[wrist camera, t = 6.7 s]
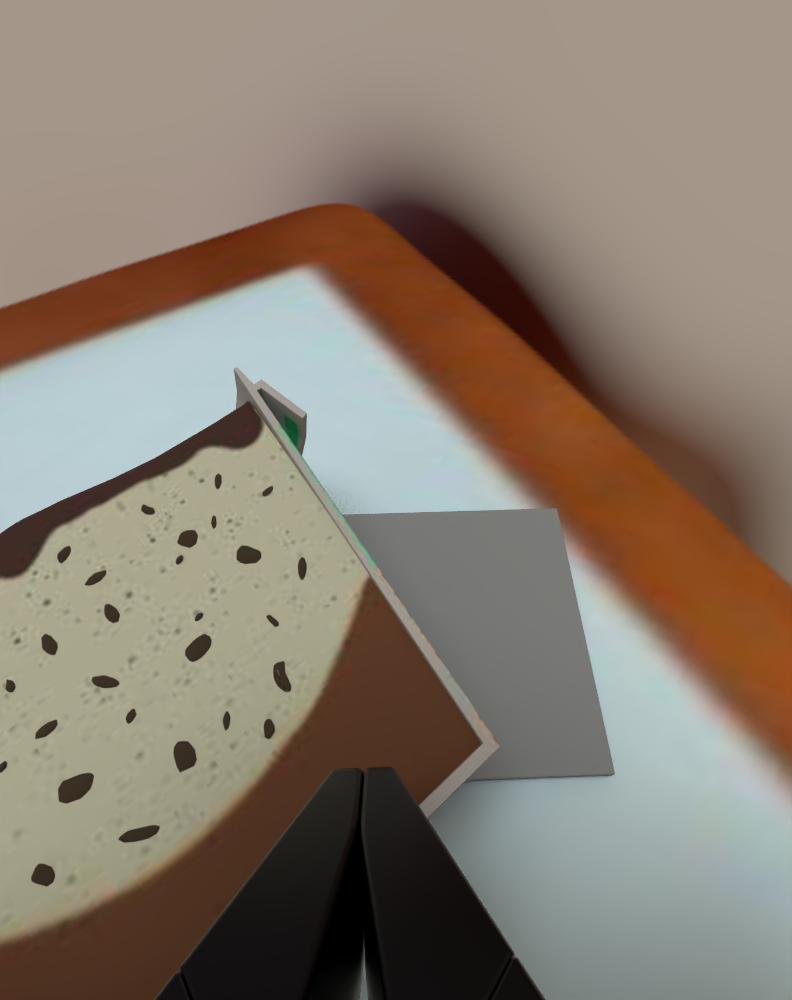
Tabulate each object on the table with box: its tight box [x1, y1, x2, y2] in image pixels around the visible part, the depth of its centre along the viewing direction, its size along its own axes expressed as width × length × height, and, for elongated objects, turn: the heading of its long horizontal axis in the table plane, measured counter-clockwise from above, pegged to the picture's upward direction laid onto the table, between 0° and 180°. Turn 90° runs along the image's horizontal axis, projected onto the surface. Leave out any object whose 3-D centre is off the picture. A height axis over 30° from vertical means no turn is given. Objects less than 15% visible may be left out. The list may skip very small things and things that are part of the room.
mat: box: [342, 508, 615, 781], centre depth 17 cm, size 8×12×1 cm, turn 92°
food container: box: [0, 368, 500, 1000], centre depth 13 cm, size 12×6×10 cm
